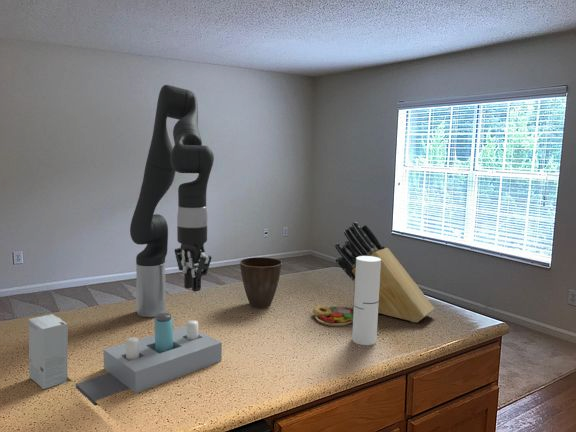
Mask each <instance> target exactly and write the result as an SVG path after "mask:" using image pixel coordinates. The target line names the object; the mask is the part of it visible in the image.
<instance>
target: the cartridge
mask: <svg viewBox="0 0 576 432" xmlns="http://www.w3.org/2000/svg"><path fill="white" fill-rule="evenodd" d="M173 329H174V318H173V316H172V314H171V313H169V312H165V313H160V314H157V315H156V317H155V318H154V335H155V351H156V352H158V353H159V354H160V353H163V352H166V351H169V350H172V349H173Z"/></svg>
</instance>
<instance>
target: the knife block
mask: <svg viewBox="0 0 576 432" xmlns="http://www.w3.org/2000/svg"><path fill="white" fill-rule="evenodd" d="M343 233H344V236H345V237H346V239H347V240H345V242H344V244H343V245H342V246H341V244H340V243H335V244H334V247H335V249H336V250H337V252H338V253H339V254H340V256H341V257H338V258H336V259H335V263H336V264H337V265H339V267H340V268H341V269H342V270H343V271H344V272H345V274H346V275H347V276H348V277H349V278H350V280H351V281H352V282H353V294H354V293H355V273H356V257H359V256H373V257H378V258H380V259H381V269H380V287H379V304H378V314H383V315H385V316H389V317H392V318H393V317H394V318H398V319H401V320H405V321H409V322H411V323H419V322H420V321H422V320H423V319H424V318H426V317H427V316H428V315H430V314H431V313H432V312H434V311H435V310H436V309H435V307H434V306H433V304H432V303H431V302H430V300H429V299H428V298H427V296H426V295H425V294H424V292H423V291H422V290H421V289H420V288H419V286H418V285H417V283H416V282H415V281H414V279H413V278H412V277H411V276H410V274H409V273H408V272H407V270H406V269H405V268H404V266H403V265H402V264H401V263H400V261H399V260H398V258H396V256H395V255H394V254H393V252H392V251H391V250H390V248H388V247H385V246H382V245H381V243H380V242H379V240H378V238H377V236H376V235H375V234H374V232H373V231H372V230H371V228H370V227H369V226H368V225H367V224H365V225H363V226H362V227H361V226H360V225H359V223H358V222H357V221H353V222H351V225H349V226H348V227H347V228H346V229H344V230H343Z"/></svg>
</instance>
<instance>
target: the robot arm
mask: <svg viewBox="0 0 576 432" xmlns="http://www.w3.org/2000/svg"><path fill="white" fill-rule="evenodd" d="M198 103H199V102H198V98H197V95H196V94H195V92H194V91H192V90H190V89H185V88H183V87H182V88H181V87H177V86H174V85H170V84H163V86H161V88H160V91H159V94H158V98H157V103H156V110H155V119H154V123H153V129H152V130H153V131H152V135H151V136H152V137H151V141H150V144H149V149H148V152H147V158H146V162H145V167H144V172H143V176H142V177H143V178H142V183H141V186H140V191H139V196H138V198H137V202H136V206H135V209H134V210H133V215H132V218H131V221H130V226H129V233H130V234H129V235H130V238H131V241H132V242H134V244H136V245H146V246H145V247H144V248H143V250H141V251H140V252H139V253H137V254H136V258H135V259H136V260H135V263H136V284H135V293H136V294H135V297H136V298H135V300H136V301H135V303H136V306H135V307H136V314H137V316H139V317H143V318H156V315H157V314H160V313H167V312H166V308H167V306H166V257H167V254H168V246H169V245H168V244H169V242H168V241H169V226H168V222H167V220H166V218H165V217H164V216H163V215H161V214H159V213H158V214H157V213H155V211H156V209H157V206H158V204H159V202H160V201H161V200H162V199H163V197H164V196H165V195H166V193H167V192H168V190H170V188H171V186H172V185H173V183H174V181H175V180H174V179H175V176H176V173H179V174H198V175H197V178H195V180H192V181H187V182H183V183H181V184H179V185H178V189H177V196H178V197H177V198H178V199H177V203H178V204H177V205H178V206H177V207H178V208H177V214H176V215H177V216H176V217H177V219H176V221H177V222H176V223H177V227H176V228H177V230H176V231H177V233H176V234H177V235H176V236H177V243H179V244H180V247H178V248H175V249H174V254H175V259H176V263H177V267H178V270H179V271H182V274H183V276H184V277H183V283H184V284H183V285H184V289H191V291H193V292H196V293H197V292H199V291H200V290H201V289H202V288H201V287H202V277H203V276H207V274H208V272H209V267H210V265H211V262H212V256H211V255H207V254H206V250H205V246H204V245H205V243H207V242H208V212H207V190H208V189H207V188H208V183H209V178H210V175H211V171H212V168H213V166H214V162H215V161H214V160H215V158H214V157H215V156H214V153H213V151H212V149H211V147H209V146H208V145H203V140H202V138H201V133H200V130H199V111H198V110H199V108H198V107H199V106H198V105H199V104H198ZM168 118H170V119H175V120H178V121H176V123H175V124H174V127H173V130H172V136H173V142H174V146H173V145H172V142H171V140H170V136H169V134H168V128H167V121H168V120H167V119H168Z"/></svg>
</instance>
